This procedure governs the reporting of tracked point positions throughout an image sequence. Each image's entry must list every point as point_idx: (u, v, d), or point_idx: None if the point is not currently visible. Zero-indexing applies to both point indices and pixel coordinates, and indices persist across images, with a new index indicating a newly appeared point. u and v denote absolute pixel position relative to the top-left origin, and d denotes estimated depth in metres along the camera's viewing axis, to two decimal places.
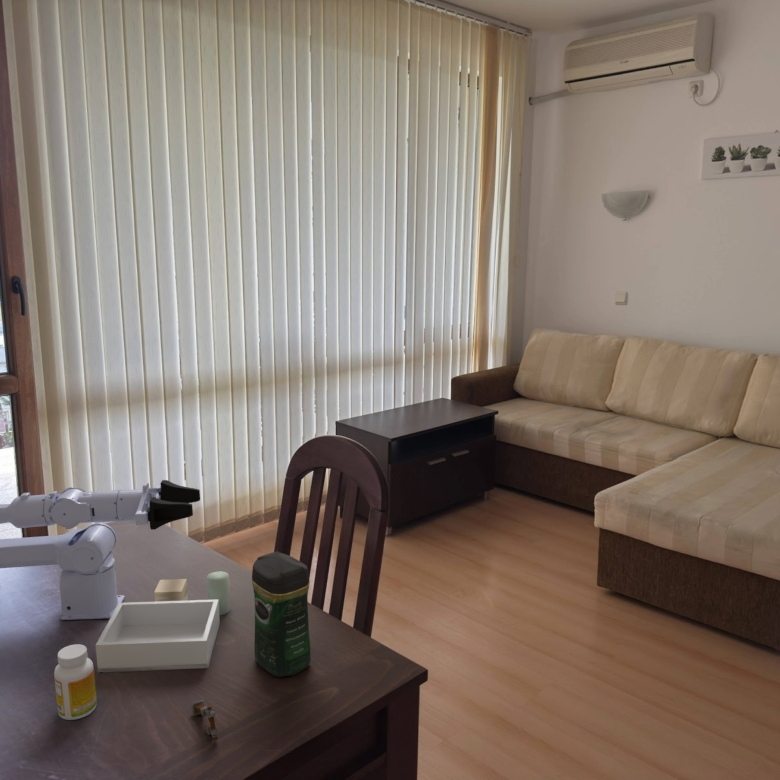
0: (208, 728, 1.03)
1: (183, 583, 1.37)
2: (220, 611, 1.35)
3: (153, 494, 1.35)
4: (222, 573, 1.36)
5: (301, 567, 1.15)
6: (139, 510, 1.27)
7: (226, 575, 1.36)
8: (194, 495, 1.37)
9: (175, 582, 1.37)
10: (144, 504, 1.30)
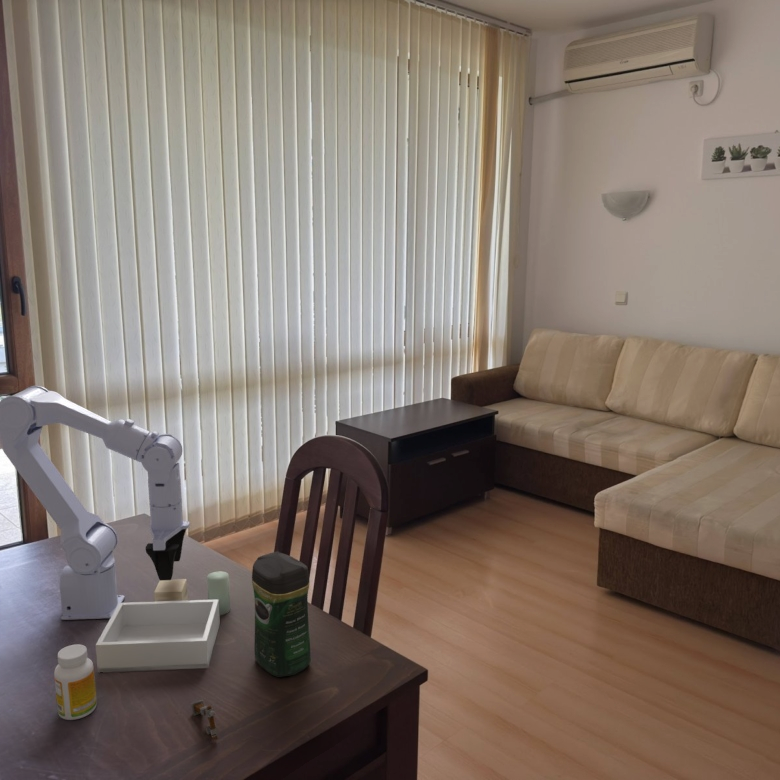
0: (208, 728, 1.03)
1: (183, 583, 1.37)
2: (220, 611, 1.35)
3: None
4: (222, 573, 1.36)
5: (301, 567, 1.15)
6: (166, 539, 1.28)
7: (226, 575, 1.36)
8: (174, 557, 1.39)
9: (175, 582, 1.37)
10: None
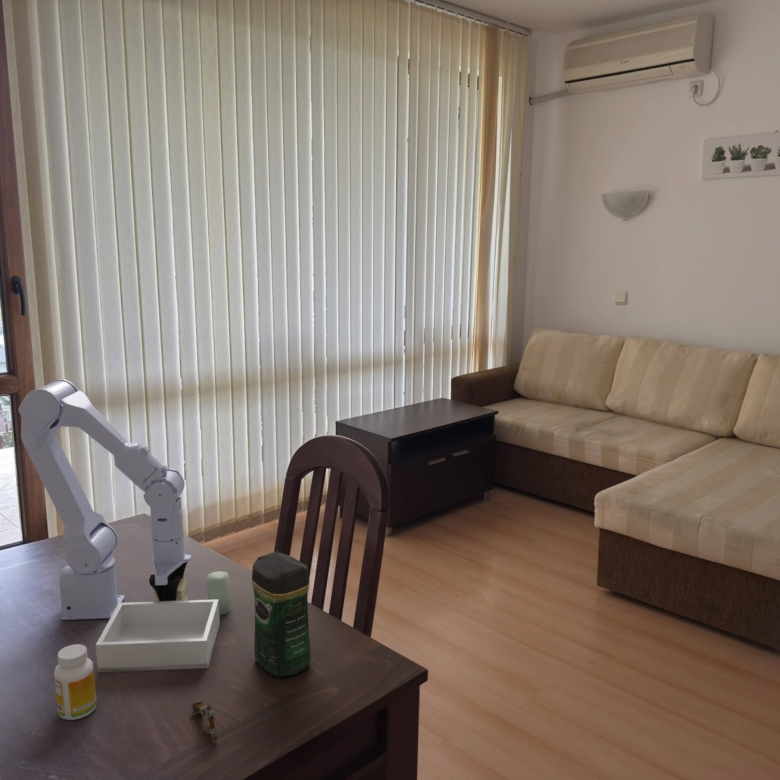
0: (207, 727, 1.03)
1: (183, 582, 1.37)
2: (220, 611, 1.35)
3: None
4: (222, 573, 1.36)
5: (301, 567, 1.15)
6: (168, 573, 1.29)
7: (226, 575, 1.36)
8: None
9: None
10: None
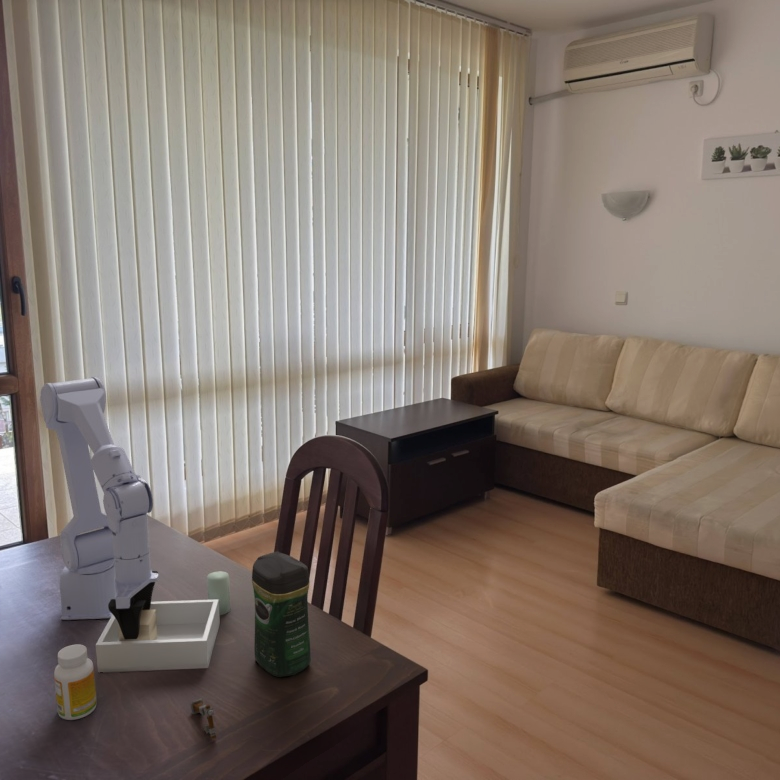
0: (207, 727, 1.03)
1: (151, 615, 1.24)
2: (220, 611, 1.35)
3: None
4: (222, 573, 1.36)
5: (301, 567, 1.15)
6: (131, 595, 1.16)
7: (226, 575, 1.36)
8: None
9: (142, 614, 1.24)
10: None
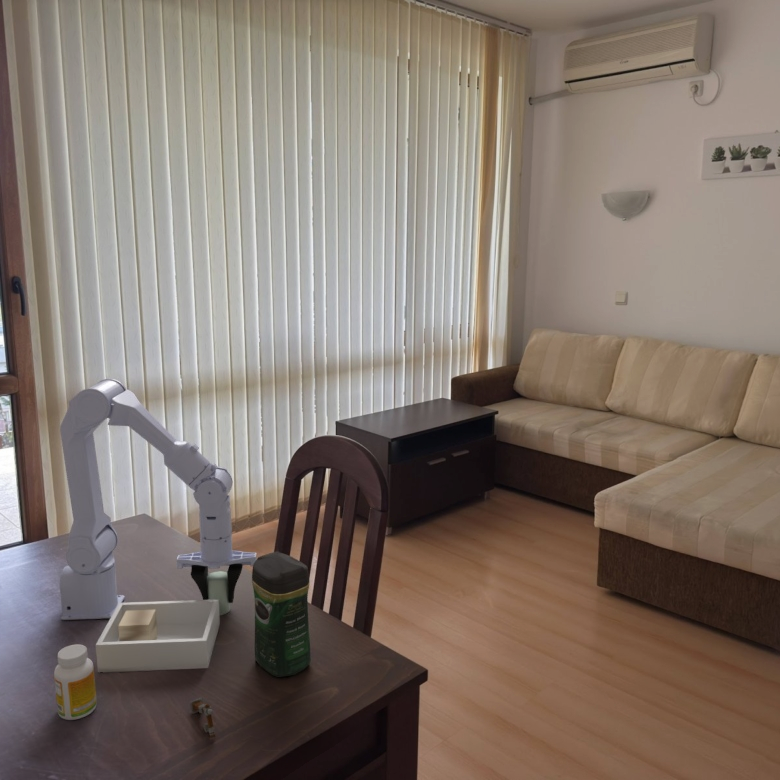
0: (206, 726, 1.03)
1: (151, 615, 1.24)
2: (220, 611, 1.35)
3: None
4: (222, 573, 1.36)
5: (301, 567, 1.15)
6: (183, 561, 1.33)
7: (226, 575, 1.36)
8: None
9: (142, 614, 1.24)
10: None
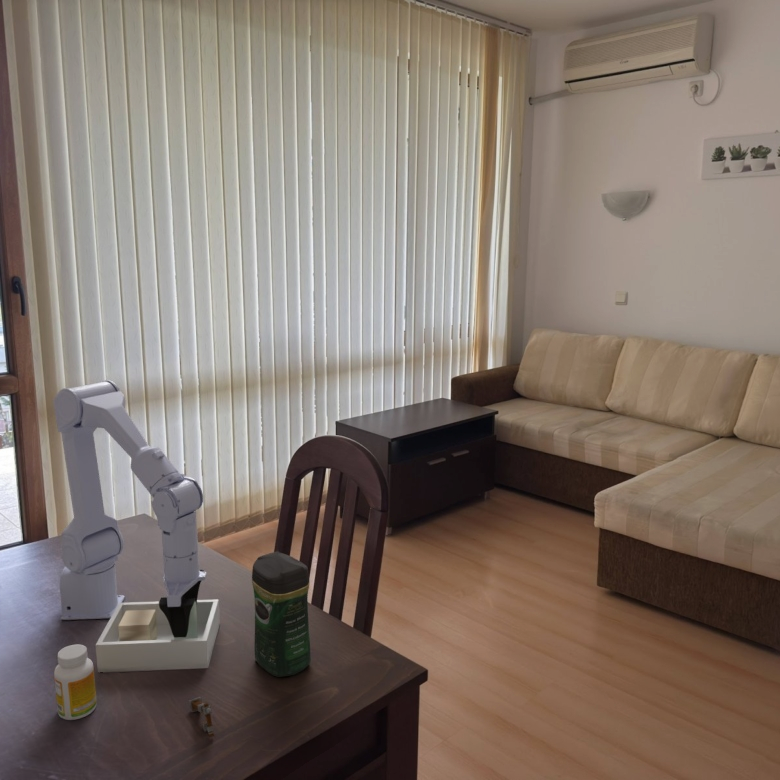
0: (205, 725, 1.03)
1: (151, 615, 1.24)
2: (197, 635, 1.25)
3: None
4: None
5: (301, 567, 1.15)
6: (182, 594, 1.17)
7: None
8: None
9: (142, 614, 1.24)
10: None
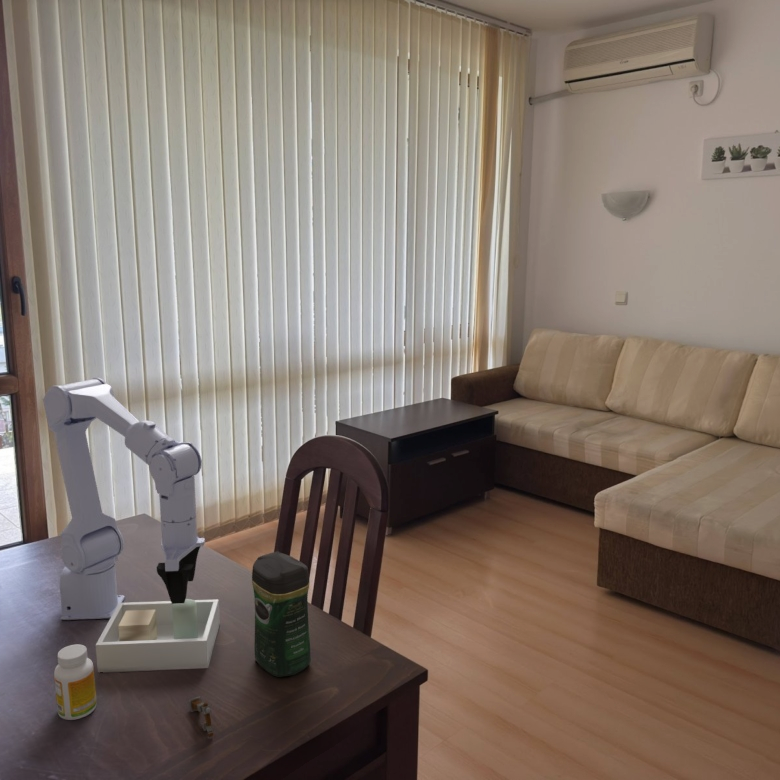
0: (204, 724, 1.04)
1: (151, 615, 1.24)
2: (197, 635, 1.25)
3: None
4: None
5: (301, 567, 1.15)
6: (180, 558, 1.15)
7: None
8: None
9: (142, 614, 1.24)
10: None
